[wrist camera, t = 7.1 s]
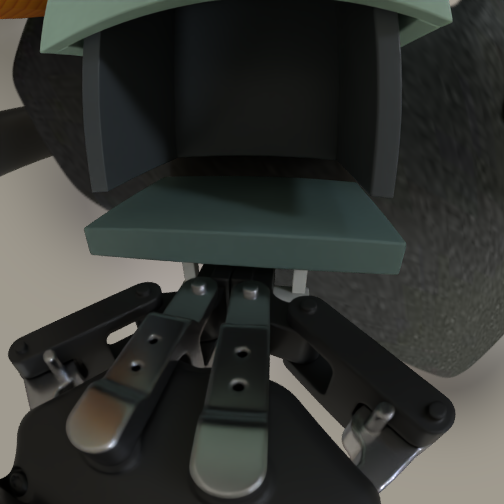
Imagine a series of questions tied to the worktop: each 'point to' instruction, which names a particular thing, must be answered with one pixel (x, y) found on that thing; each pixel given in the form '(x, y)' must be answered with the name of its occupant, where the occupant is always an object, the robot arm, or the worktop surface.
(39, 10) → the carrot
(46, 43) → the green drawer housing
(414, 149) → the worktop surface
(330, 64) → the green drawer
